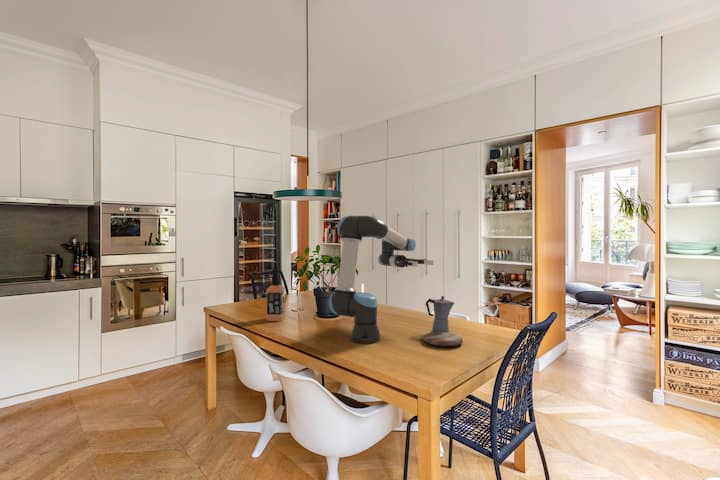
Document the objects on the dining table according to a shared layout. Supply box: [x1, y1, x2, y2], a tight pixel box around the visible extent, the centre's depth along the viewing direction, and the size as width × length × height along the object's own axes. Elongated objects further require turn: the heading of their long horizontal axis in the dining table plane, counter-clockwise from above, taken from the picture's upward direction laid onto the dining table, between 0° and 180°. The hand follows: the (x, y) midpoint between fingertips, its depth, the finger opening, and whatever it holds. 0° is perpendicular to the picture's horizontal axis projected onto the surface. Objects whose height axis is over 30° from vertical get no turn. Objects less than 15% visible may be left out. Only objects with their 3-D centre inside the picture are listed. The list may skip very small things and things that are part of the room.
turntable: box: [423, 331, 463, 347], centre depth 187 cm, size 19×19×1 cm
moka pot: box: [425, 295, 455, 333], centre depth 206 cm, size 10×15×20 cm, turn 78°
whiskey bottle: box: [265, 268, 286, 322], centre depth 235 cm, size 10×10×32 cm
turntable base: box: [430, 344, 457, 348], centre depth 187 cm, size 14×14×1 cm
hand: (425, 263), depth 213 cm, fingers open, 13 cm apart
